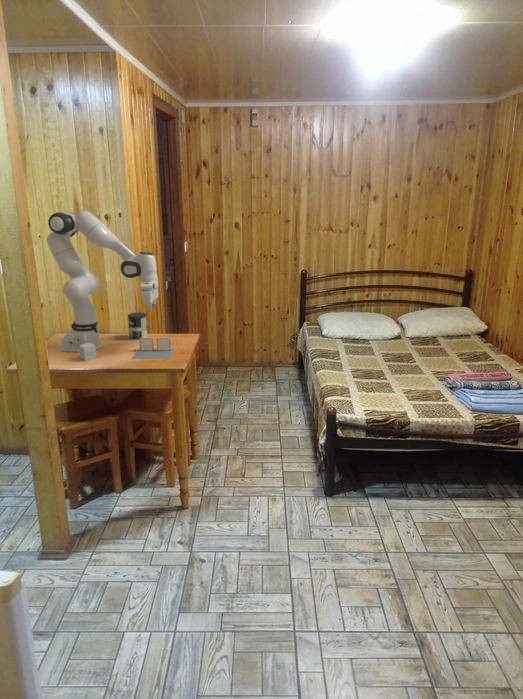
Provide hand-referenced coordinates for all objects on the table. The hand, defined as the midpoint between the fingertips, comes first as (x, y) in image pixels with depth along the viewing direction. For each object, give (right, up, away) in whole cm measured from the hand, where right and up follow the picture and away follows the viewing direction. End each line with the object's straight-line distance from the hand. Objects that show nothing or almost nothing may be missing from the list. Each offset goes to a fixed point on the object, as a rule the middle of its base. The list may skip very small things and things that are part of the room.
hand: (152, 309), depth 261 cm
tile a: (-4, -22, +3) cm, 22 cm away
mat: (+1, -24, -1) cm, 24 cm away
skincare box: (-31, -26, -8) cm, 41 cm away
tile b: (+5, -22, +3) cm, 23 cm away
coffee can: (-14, -15, +25) cm, 32 cm away
